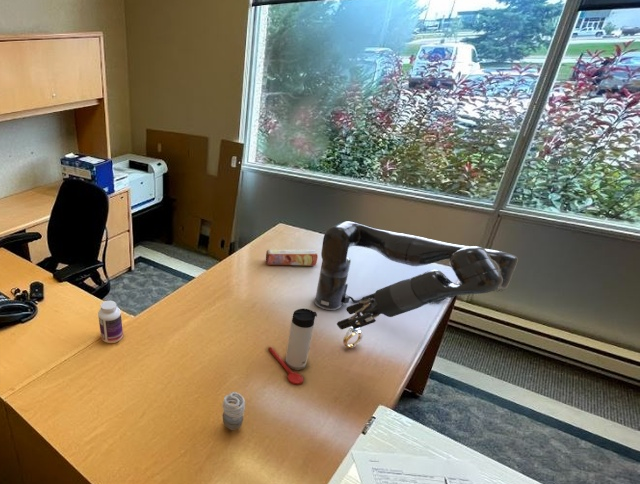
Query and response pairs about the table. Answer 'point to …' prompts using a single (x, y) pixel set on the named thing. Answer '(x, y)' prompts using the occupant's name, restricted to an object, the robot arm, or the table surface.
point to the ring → (346, 338)
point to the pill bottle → (110, 322)
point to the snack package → (291, 257)
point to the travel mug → (300, 338)
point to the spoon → (288, 370)
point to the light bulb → (233, 410)
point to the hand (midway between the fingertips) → (343, 318)
